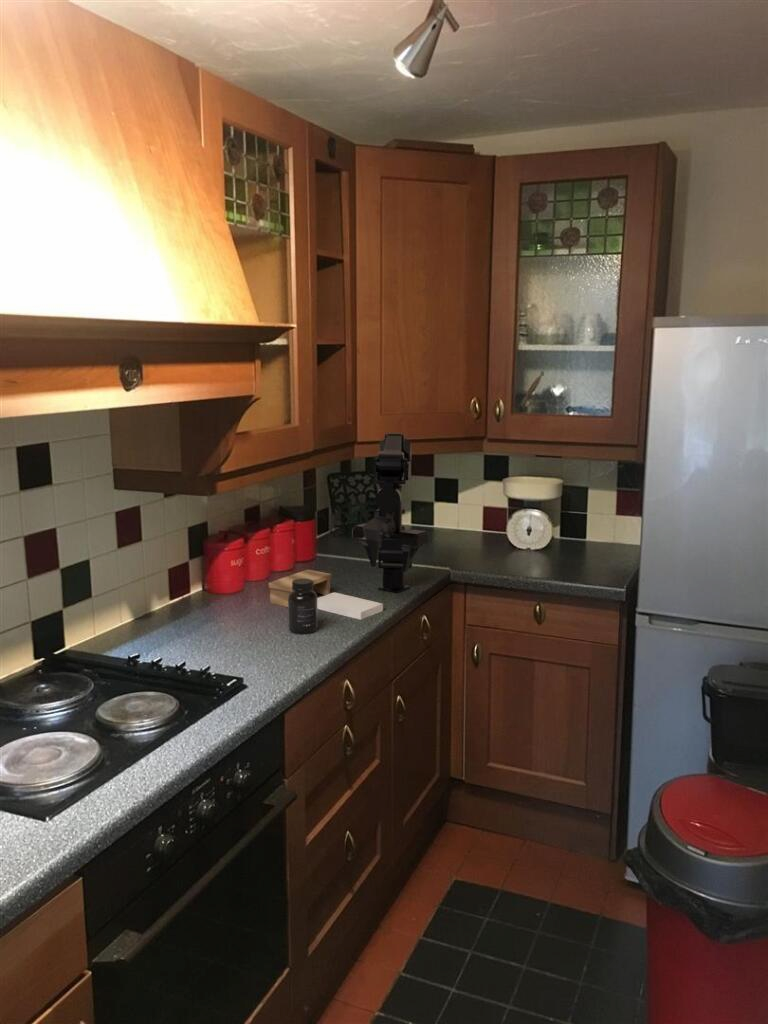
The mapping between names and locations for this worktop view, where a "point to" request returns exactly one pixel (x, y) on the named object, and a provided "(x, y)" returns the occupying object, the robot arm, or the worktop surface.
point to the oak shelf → (284, 585)
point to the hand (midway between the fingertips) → (389, 569)
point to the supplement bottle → (302, 607)
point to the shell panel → (348, 605)
